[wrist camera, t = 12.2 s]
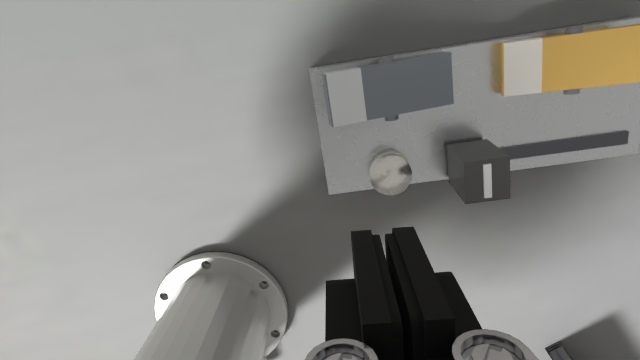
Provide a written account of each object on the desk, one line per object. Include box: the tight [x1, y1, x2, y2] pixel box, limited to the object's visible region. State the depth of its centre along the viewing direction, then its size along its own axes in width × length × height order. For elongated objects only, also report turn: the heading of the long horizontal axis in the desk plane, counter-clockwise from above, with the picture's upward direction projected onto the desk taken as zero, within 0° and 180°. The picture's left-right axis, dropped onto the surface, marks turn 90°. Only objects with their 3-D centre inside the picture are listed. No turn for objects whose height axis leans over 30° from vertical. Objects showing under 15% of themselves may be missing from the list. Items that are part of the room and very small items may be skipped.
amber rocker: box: [500, 23, 640, 97], centre depth 29 cm, size 4×9×1 cm, turn 99°
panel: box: [309, 16, 640, 196], centre depth 32 cm, size 10×24×4 cm, turn 99°
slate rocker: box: [322, 52, 454, 127], centre depth 30 cm, size 4×9×1 cm, turn 99°
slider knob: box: [447, 139, 510, 204], centre depth 30 cm, size 3×3×5 cm
